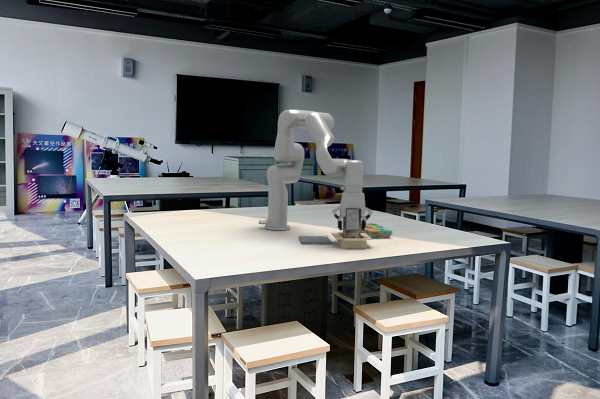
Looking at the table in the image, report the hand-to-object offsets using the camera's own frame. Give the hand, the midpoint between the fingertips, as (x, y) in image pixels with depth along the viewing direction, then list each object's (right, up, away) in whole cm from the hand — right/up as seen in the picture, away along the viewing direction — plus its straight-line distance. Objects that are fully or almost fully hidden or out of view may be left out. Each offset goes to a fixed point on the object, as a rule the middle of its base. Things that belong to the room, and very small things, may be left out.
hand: (351, 229), depth 211 cm
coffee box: (0, -7, +1) cm, 7 cm away
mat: (-15, -5, +6) cm, 17 cm away
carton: (0, -6, +1) cm, 6 cm away
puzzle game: (+12, -4, +26) cm, 29 cm away
